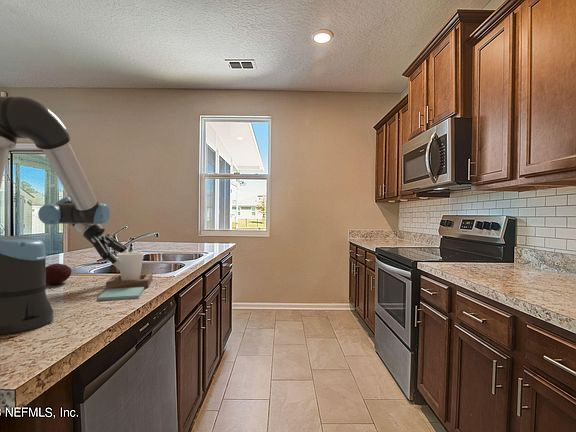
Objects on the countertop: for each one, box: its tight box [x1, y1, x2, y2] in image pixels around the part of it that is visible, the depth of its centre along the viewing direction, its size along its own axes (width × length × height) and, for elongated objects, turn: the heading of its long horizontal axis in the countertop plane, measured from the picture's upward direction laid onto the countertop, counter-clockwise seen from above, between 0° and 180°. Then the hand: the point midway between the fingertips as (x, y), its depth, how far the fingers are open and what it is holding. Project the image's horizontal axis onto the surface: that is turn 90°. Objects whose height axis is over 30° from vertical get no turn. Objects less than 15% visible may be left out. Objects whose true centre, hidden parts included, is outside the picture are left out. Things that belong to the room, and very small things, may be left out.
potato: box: [45, 263, 72, 285], centre depth 135 cm, size 12×11×8 cm
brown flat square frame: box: [105, 272, 154, 290], centre depth 134 cm, size 15×15×3 cm
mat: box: [96, 287, 145, 302], centre depth 118 cm, size 13×13×1 cm
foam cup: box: [117, 251, 144, 280], centre depth 134 cm, size 10×9×13 cm
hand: (128, 265), depth 135 cm, fingers open, 13 cm apart
